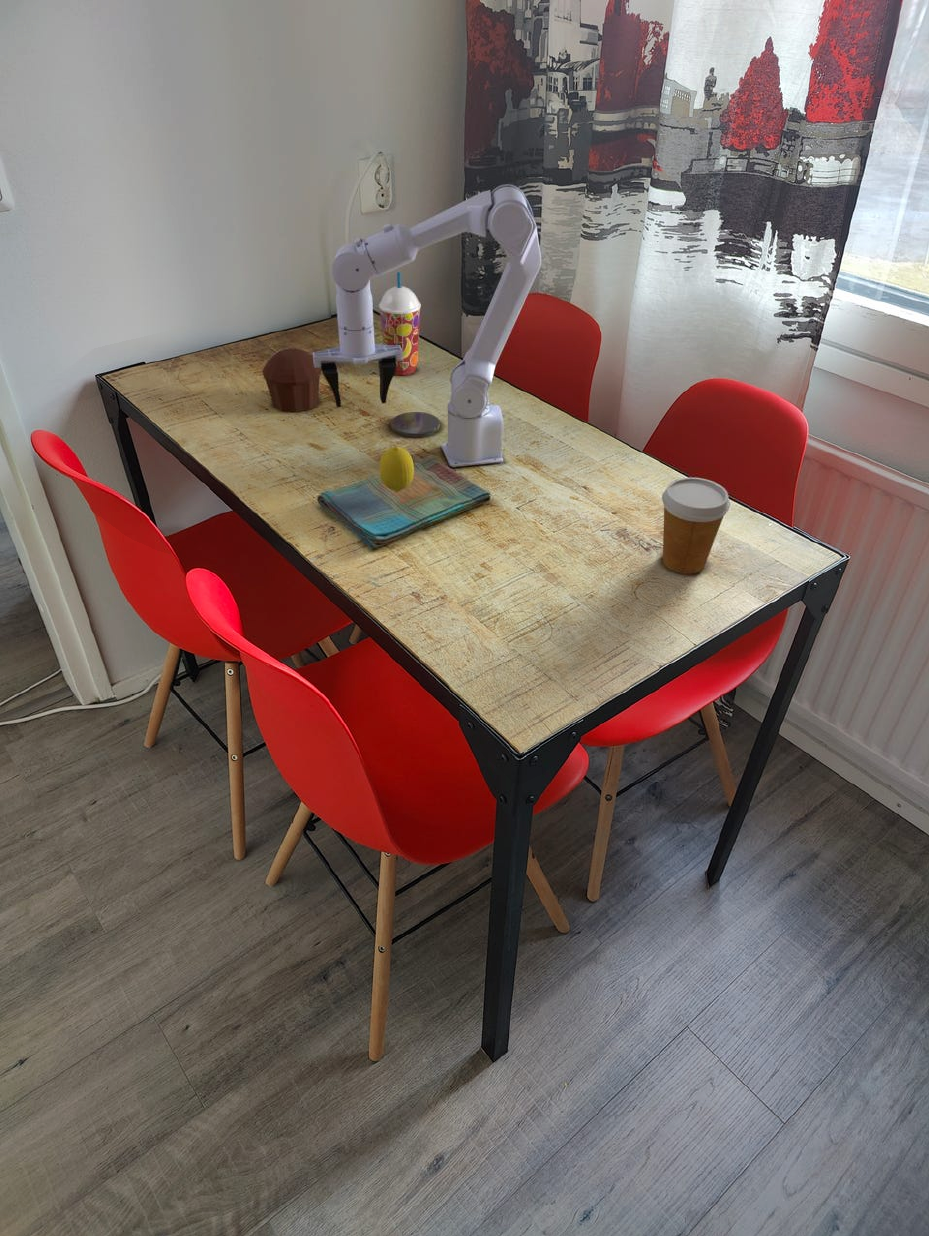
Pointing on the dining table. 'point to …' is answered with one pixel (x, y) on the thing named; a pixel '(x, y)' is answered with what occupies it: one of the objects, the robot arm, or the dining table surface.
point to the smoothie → (401, 324)
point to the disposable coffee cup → (691, 522)
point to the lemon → (396, 468)
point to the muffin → (292, 380)
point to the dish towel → (402, 503)
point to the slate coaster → (415, 424)
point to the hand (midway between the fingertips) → (360, 402)
